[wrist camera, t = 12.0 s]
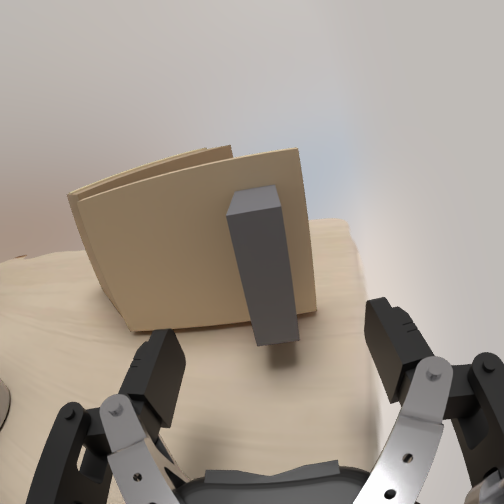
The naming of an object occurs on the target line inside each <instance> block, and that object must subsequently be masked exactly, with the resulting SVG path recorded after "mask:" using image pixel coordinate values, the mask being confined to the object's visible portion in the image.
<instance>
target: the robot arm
mask: <svg viewBox="0 0 504 504" xmlns="http://www.w3.org/2000/svg"><path fill="white" fill-rule="evenodd" d="M364 334H365V340H366V343H367V346H368V348H369V351H370V353H371V355H372V358H373V360H374V363H375V365H376V368H377V370H378V373H379V375H380V378H381V380H382V383H383V386H384V388H385V391H386V393H387V396H388V399H389V402H390V404H392V403H395V402H398V401H399V402H400V404H401V407H402V408H401V410H400V412H399V415H398V417H397V419H396V422H395V425H394V426H393V429H392V431H391V433H390V435H389V438H388V440H387V442H386V444H385V446H384V448H383V450H382V452H381V454H380V456H379V458H378V459H377V461H376V463H375V465H374V467H373V469H372V470H371V472H370V473H369V472H367V471H364V470H361V469H358V468H353V467H346V466H339V465H338V460H334V461H328V462H323V463H317V464H310V465H304V466H301V467H299V468H296V469H293V470H290V471H287V472H283V473H280V474H277V475H273V476H265V475H259V474H253V473H248V472H242V471H238V470H206V472H205V477H201V478H197V479H194V480H192V481H190V479H189V478H188V477H187V476H186V475H185V474H184V472H183V471H182V470H181V469H180V467H179V466H178V464H177V463H176V461H175V460H174V458H173V456H172V455H171V453H170V451H169V450H168V448H167V446H166V444H165V443H164V441H163V439H162V437H161V436H160V434H159V430H160V427H162V428H170V427H171V423H172V419H173V414H174V410H175V406H176V402H177V398H178V394H179V390H180V386H181V382H182V378H183V374H184V370H185V366H186V360H185V355H184V352H183V350H182V348H181V346H180V344H179V342H178V340H177V337H176V335H175V333H174V331H173V330H172V329H171V328H169V329H156V330H154V331H153V332H152V334H151V336H150V339H149V341H148V342H144V343H143V344H142V345H141V346H140V348H139V349H138V350H137V352H136V354H135V356H134V358H133V361H132V363H131V365H130V368H129V370H128V372H127V374H126V376H125V379H124V381H123V383H122V386H121V388H120V390H119V393H118V394H116V395H112V396H110V397H108V398H107V399H106V400H105V401H104V402H103V403H102V405H101V407H99V408H93V409H87V410H85V409H84V408H83V407H82V406H81V405H80V404H79V403H77V402H70V403H67V404H66V405H64V406H63V407H62V408H61V409H60V411H59V413H58V415H57V417H56V420H55V422H54V424H53V427H52V429H51V431H50V434H49V436H48V439H47V441H46V444H45V446H44V449H43V452H42V454H41V457H40V460H39V463H38V465H37V468H36V471H35V474H34V477H33V480H32V484H31V487H30V490H29V494H28V497H27V501H26V504H106V503H107V498H108V493H109V489H110V484H111V479H112V475H114V478H115V480H116V482H117V485H118V487H119V489H120V492H121V494H122V496H123V498H124V501H125V503H126V504H420V503H418V502H416V499H417V497H418V495H419V493H420V491H421V489H422V486H423V484H424V482H425V479H426V477H427V475H428V472H429V470H430V467H431V465H432V462H433V460H434V456H435V454H436V451H437V448H438V445H439V442H440V439H441V436H442V433H443V428H444V425H443V424H442V420H446V419H451V421H452V424H453V427H454V430H455V432H456V435H457V438H458V441H459V444H460V447H461V450H462V453H463V457H464V460H465V463H466V466H467V470H468V474H469V477H470V481H471V485H472V489H471V490H470V491H469V493H468V494H467V496H466V499H465V503H464V504H504V364H503V362H502V361H501V359H500V358H499V357H498V356H496V355H495V354H492V353H488V352H484V353H481V354H479V355H477V356H476V357H475V358H474V360H473V362H472V364H467V365H450V363H449V362H448V361H447V360H445V359H443V358H441V357H436V356H434V354H433V352H432V351H431V349H430V347H429V346H428V344H427V342H426V341H425V339H424V338H423V336H422V334H421V333H420V331H419V330H418V329H417V327H416V325H415V324H414V323H413V320H412V319H411V318H410V316H409V314H408V313H407V312H405V311H404V310H402V309H401V308H400V307H393V308H392V307H391V305H390V304H389V302H388V301H387V299H386V298H385V297H382V298H377V299H372V300H368V301H367V302H366V311H365V326H364ZM9 400H10V396H9V390H8V388H7V386H6V385H5V384H4V383H3V381H2V380H1V379H0V427H1V425H2V423H3V421H4V419H5V417H6V414H7V411H8V407H9ZM82 445H83V446H84V447H85V448H86V451H85V454H84V457H83V460H82V464H81V467H80V471H78V469H77V460H78V457H79V454H80V451H81V448H82Z"/></svg>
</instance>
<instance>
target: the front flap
mask: <svg viewBox="0 0 504 504" xmlns="http://www.w3.org/2000/svg"><path fill="white" fill-rule="evenodd" d="M77 205H78V209H79V212H80V215H81V218H82V221H83V224H84V227H85V229H86V232H87V235H88V238H89V240H90V243H91V246H92V248H93V251H94V254H95V256H96V259H97V261H98V264H99V266H100V268H101V271H102V273H103V275H104V278H105V280H106V282H107V285H108V287H109V289H110V291H111V293H112V296H113V298H114V300H115V302H116V304H117V306H118V308H119V310H120V312H121V314H122V316H123V318H124V320H125V322H126V324H127V326H128V328H129V330H130V332H131V331H150V330H156V329H169V328H171V329H179V328H190V327H201V326H211V325H221V324H230V323H238V322H246V321H251V323H252V327H253V331H254V335H255V339H256V343H257V346H263V345H271V344H278V343H285V342H292V341H299V340H300V339H299V330H298V322H297V314H302V313H308V312H314V311H317V307H316V293H315V281H314V270H313V259H312V249H311V240H310V231H309V223H308V214H307V207H306V199H305V192H304V184H303V178H302V171H301V164H300V158H299V151H298V148H296V147H295V148H289V149H282V150H275V151H269V152H263V153H257V154H252V155H246V156H241V157H236V158H230V159H225V160H220V161H216V162H211V163H207V164H202V165H198V166H194V167H189V168H185V169H181V170H177V171H173V172H169V173H166V174H162V175H158V176H154V177H151V178H147V179H144V180H140V181H137V182H133V183H130V184H127V185H124V186H120V187H117V188H114V189H111V190H108V191H105V192H102V193H99V194H96V195H93V196H90V197H87V198H84V199H82V200H80V201H78V202H77Z"/></svg>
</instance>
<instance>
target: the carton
mask: <svg viewBox="0 0 504 504" xmlns="http://www.w3.org/2000/svg"><path fill="white" fill-rule="evenodd" d="M230 158H233V155H232V150H231V145H228V146H221V147H216V148H211V149H207V148H202V149H197V150H192V151H189V152H185V153H181V154H178V155H174V156H171V157H167V158H164V159H161V160H158V161H154V162H151V163H148V164H145V165H142V166H139V167H136V168H133V169H130V170H127V171H124V172H121V173H118V174H115V175H113V176H110V177H107V178H105V179H102V180H99V181H97V182H94V183H92V184H89V185H87V186H84V187H82V188H80V189H77V190H75V191H72V192H70V193H69V194H68V195H67V197H68V200H69V204H70V207H71V210H72V213H73V216H74V219H75V222H76V225H77V228H78V231H79V233H80V236H81V239H82V241H83V244H84V246H85V250H86V252H87V255H88V257H89V260H90V262H91V264H92V267H93V269H94V272H95V274H96V276H97V278H98V281H99V283H100V285H101V287H102V289H103V291H104V292H105V294H106V295H107V297H108V298H109V299H110V301H111V302H112V304H113V305H114V306H115V308H116V309H117V310H118V312H119V313H120V314H121V312H120V310H119V308H118V306H117V304H116V302H115V300H114V298H113V296H112V293H111V291H110V289H109V287H108V285H107V282H106V280H105V278H104V275H103V273H102V271H101V268H100V266H99V264H98V261H97V259H96V256H95V254H94V251H93V248H92V246H91V243H90V240H89V238H88V235H87V232H86V229H85V227H84V224H83V221H82V218H81V215H80V212H79V209H78V205H77V202H78V201H80V200H82V199H84V198H87V197H90V196H93V195H96V194H99V193H102V192H105V191H108V190H111V189H114V188H117V187H120V186H124V185H127V184H130V183H133V182H137V181H140V180H144V179H147V178H151V177H154V176H158V175H162V174H166V173H169V172H173V171H177V170H181V169H185V168H189V167H194V166H198V165H202V164H207V163H211V162H216V161H220V160H225V159H230ZM121 316H122V314H121ZM122 317H123V316H122Z"/></svg>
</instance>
